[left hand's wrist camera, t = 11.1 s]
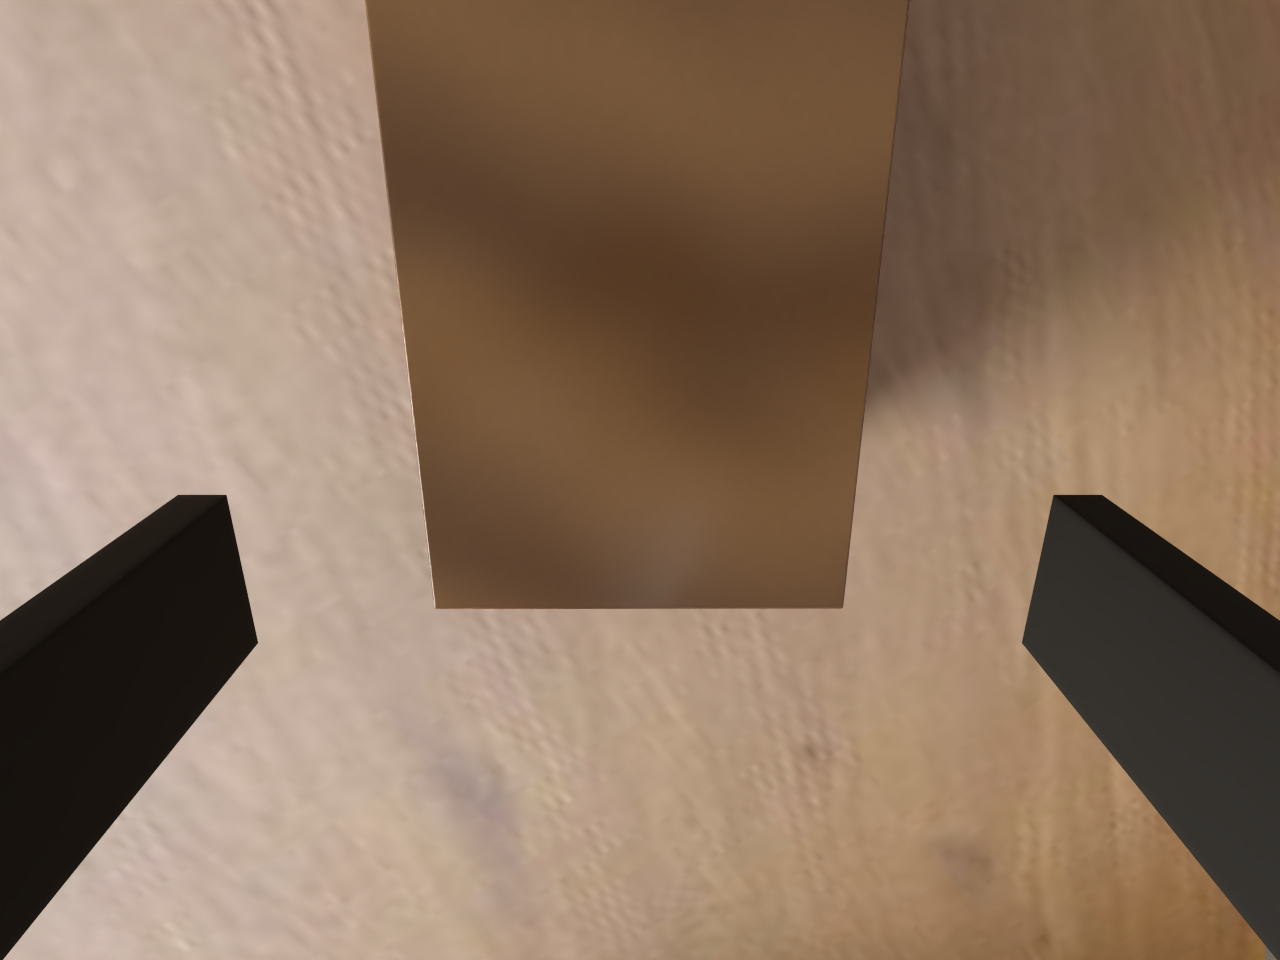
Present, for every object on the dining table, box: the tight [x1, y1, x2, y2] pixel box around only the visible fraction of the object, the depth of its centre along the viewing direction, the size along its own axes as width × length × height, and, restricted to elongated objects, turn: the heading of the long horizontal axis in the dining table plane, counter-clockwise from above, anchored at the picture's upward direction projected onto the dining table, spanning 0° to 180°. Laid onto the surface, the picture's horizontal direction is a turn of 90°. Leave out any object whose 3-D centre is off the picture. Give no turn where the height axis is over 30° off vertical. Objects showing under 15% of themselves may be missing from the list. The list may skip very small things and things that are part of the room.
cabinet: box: [365, 0, 909, 609], centre depth 21 cm, size 18×10×11 cm, turn 0°
